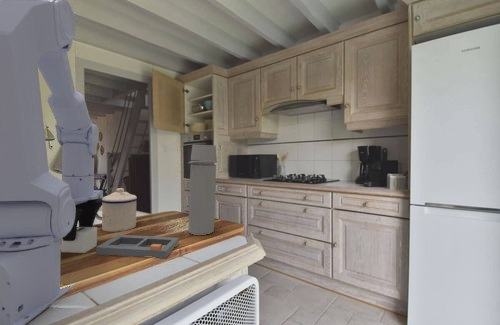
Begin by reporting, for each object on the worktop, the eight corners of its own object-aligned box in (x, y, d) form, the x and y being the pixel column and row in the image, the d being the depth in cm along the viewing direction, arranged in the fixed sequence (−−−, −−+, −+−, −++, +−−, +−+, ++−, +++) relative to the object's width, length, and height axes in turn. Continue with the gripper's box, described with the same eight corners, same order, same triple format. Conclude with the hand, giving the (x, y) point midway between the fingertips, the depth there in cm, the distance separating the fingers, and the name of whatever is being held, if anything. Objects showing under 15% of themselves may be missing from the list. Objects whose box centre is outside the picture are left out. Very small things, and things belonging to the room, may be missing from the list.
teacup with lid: (141, 224, 74) (142, 186, 73) (128, 233, 64) (129, 191, 64) (101, 223, 73) (102, 185, 72) (82, 233, 64) (83, 190, 63)
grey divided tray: (165, 262, 49) (165, 247, 49) (95, 258, 50) (95, 243, 50) (178, 248, 57) (178, 234, 57) (118, 244, 58) (118, 231, 58)
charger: (84, 256, 51) (84, 232, 50) (61, 255, 51) (61, 231, 50) (96, 248, 55) (97, 226, 54) (75, 248, 55) (75, 226, 54)
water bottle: (220, 233, 68) (223, 145, 67) (197, 240, 62) (200, 144, 61) (200, 226, 74) (203, 145, 73) (178, 231, 68) (180, 144, 67)
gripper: (71, 179, 45) (70, 250, 45) (115, 173, 59) (114, 227, 60) (34, 178, 45) (34, 248, 45) (87, 172, 59) (86, 225, 60)
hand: (77, 236), depth 52 cm, fingers open, 4 cm apart
